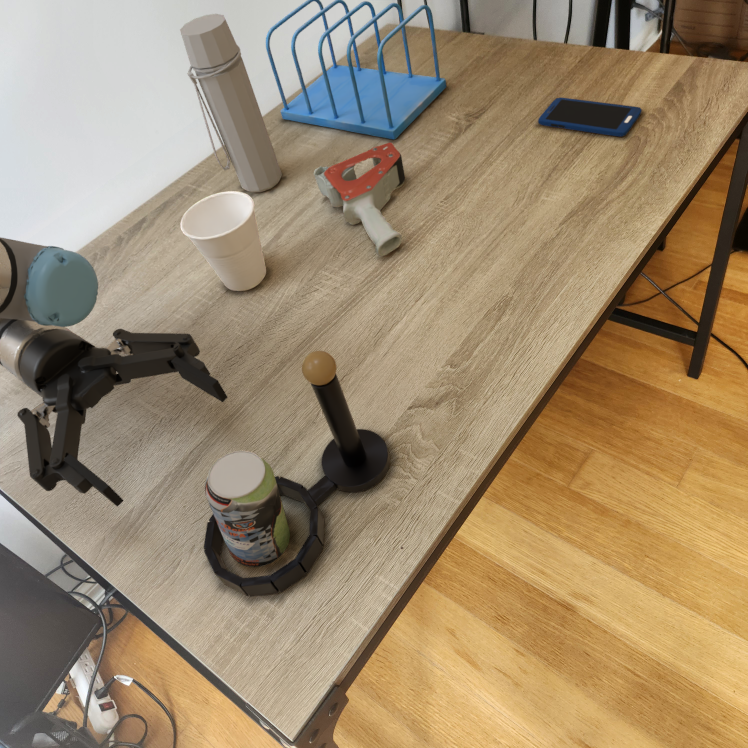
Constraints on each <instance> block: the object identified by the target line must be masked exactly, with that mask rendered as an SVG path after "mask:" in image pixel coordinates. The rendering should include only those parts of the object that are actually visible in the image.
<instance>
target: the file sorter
mask: <svg viewBox="0 0 748 748" xmlns="http://www.w3.org/2000/svg"><path fill="white" fill-rule="evenodd" d="M313 2H315V3H317V5H318V7H319V10H320V11H318V12H317V13H316V14H315V15H314V16H312V17H311V18H310V19H308V20H307V21H306V22H305V23H303V24H302V25H301V26H299V27H298V28H297V29H296V30H295V31H294V32H293V34H292V36H291V37H292V38H291V42H290V50H291V55H292V59H293V62H294V63H293V64H294V67H295V69H296V70H295V71H296V73H297V76H298V80H299V83H300V87H301V90H302V92H300V93H299V94H298V95H297V96H295V97H294V98H293V99H292V100H291V101H290V102H289V103H287V99H286V96H285V93H284V89H283V86H282V83H281V80H280V76H279V73H278V70H277V68H276V64H275V61H274V57H273V54H272V51H271V45H270V44H271V36H272V34H273V33H274V32H275V31H276V30H277V29H278V28H280V26H282V25H283V24H285V23H286V22H287V21H288V20H290V19H291V18H293V17H294V16H296V14H298V13H299V12H301V10H303V9H304V8H307V6H308V5H310V4H312V3H313ZM338 4H340V5H342V7H343V8H344V11H345V14H344V16H342V17H341V18H339V20H337V21H336V22H334V23H333V24H332V25H331V26H330V27H329V25H328V21H327V17H326V13H327V12H328V11H330V10H331V9H332V8H334V7H335V6H336V5H338ZM366 6H367V7H368V8H369V9H370V13H371V17H372V18H371V19H370V20H369V21H367V22H366V23H365V24H364V25H362V27H360V28H359V29H358V30H356V32H354V27H353V23H352V19H351V17H352V16H353V15H354V14H356V13H357V12H359V10H361V9H362V8H363V7H366ZM393 8H395V9H396V10H397V13H398V16H399V22H400V23H399V24H398V25H397V26H396V27H395V28H393V29H392V30H391V31H390V32H389V33H388V34H387V35H386V36H385V37H384V38H383V39H382V40H381V38H380V37H381V36H380V32H379V25H378V20H379V19H380V18H382V17H383V16H384V15H385V14H386V13H388V12H389V11H390V10H392V9H393ZM423 10H425V11H426V12H427V17H428V22H429V30H430V31H429V32H430V39H431V40H430V41H431V46H432V55H433V64H434V71H435V76H430V75H429V76H428V75H421V74H414V73H413V71H412V63H411V58H410V51H409V45H408V44H409V43H408V38H407V31H406V25H407V24H408V23H409V22H411V20H413V19H414V18H415V17H416V16H417V15H418V14H420V12H422V11H423ZM433 16H434V15H433V12H432V10H431V8H430V6H429V5H428V4H421V5H420V6H419V7H416V9H414V11H413V12H411V13H410V14H409V15H408V16H407V17H406V18H405V17H404V13H403V9H402V7H401V6H400V5H399V3H396V2H391V3H390V4H388V5H387V6H385V7H384V8H383V9H382V10H380V12H378V13H377V14H376V11H375V7H374V6H373V4H372V3H371V2H370V1H367V0H364V1H361V2H360V3H358V5H356V6H355V7H353V8H352V9H351V10H350V9H349V7H348V4H347V3H346V1H345V0H333V1H332V2H330V3H329V4H328V5H326V6H325V7H324V5H323V3H322V1H321V0H306V1H304V2H302V4H300V5H298V6H297V7H296V8H295V9H293V10H292V11H291V12H289V13H288V14H286V15H285V16H283V18H281V19H280V20H279V21H277V22H276V23H275V24H274V25H272V26H271V27H270V28H269V30H268V32H267V33H266V37H265V50H266V53H267V57H268V59H269V63H270V66H271V70H272V73H273V76H274V80H275V83H276V86H277V89H278V92H279V95H280V99H281V101H282V105H283V107H282V108H281V109H280V115H281V118H282V120H287V121H292V122H298V123H304V124H308V125H309V124H310V125H315V126H320V127H324V128H331V129H336V130H341V131H347V132H352V133H357V134H362V135H368V136H374V137H378V138H384V139H389V140H396V139H398V137H399V136H400V135H401V134H402V133H403V132H404V131H405V130H406V129H407V128H408V127H409V126H410V125H411V124H412V123H413V122H414V121H415V120H416V119H417V118H418V117H419V116H420V114H422V112H424V111H425V109H427V108H428V107H429V106H430V104H432V103H433V102H434V101H435V99H437V97H438V96H439V95H441V94H442V92H443V91H445V89H446V88H447V80H446V78H445V77H441V76H440V66H439V58H438V50H437V49H438V48H437V41H436V33H435V24H434V17H433ZM320 17H321V18H322V21H323V26H324V30H325V31H323V33H322V34H321V36H320V37H319V40H318V44H317V45H318V46H317V54H318V59H319V63H320V68H321V71H322V74H321V75H320V76H319V77H318V78H317V79H316V80H314V81H313V82H312V83H310V84H309V85H308V86H307V87H306V85H305V81H304V77H303V73H302V69H301V66H300V63H299V59H298V56H297V51H296V50H297V49H296V42H297V39H298V36H299V35H300V34H301V32H303V31H304V30H305V29H307V28H308V27H309V26H310V25H311V24H313V23H314V22H315V21H317V20H318V19H319V18H320ZM404 18H405V19H404ZM345 21H347V24H348V29H349V34H350V38H349V41H348V43H347V46H346V61H347V65H342V64H337V60H336V55H335V51H334V46H333V42H332V37H331V33H332V32H334V31H335V30H336V29H338V28H339V27H340V26H341V25H342V24H343V23H344V22H345ZM372 25H373V27H374V33H375V40H376V44H377V49H378V50H377V53H376V62H377V63H376V64H377V69H375V68H374V69H373V68H367V67H366V68H365V67H361V62H360V61H361V60H360V57H359V52H358V47H357V43H356V39H357V38H358V37H360V35H362V34H363V33H364V32H365V31H366V30H368V29H369V28H370V27H371V26H372ZM400 30H401V36H402V42H403V47H404V53H405V54H404V55H405V61H406V66H407V72H408V73H404V72H397V71H389V70H387V69H386V65H385V58H384V53H383V50H384V47H385V45H386V44H387V42H389V41H390V40H391V39H392V38H393V37H394V36H395V35H396V34H397V33H398V32H399V31H400ZM325 40H327V43H328V47H329V48H328V49H329V53H330V56H331V57H330V58H331V61H332V66H331V67H329V68H328V69H327V68H326V64H325V59H324V55H323V45H324V42H325ZM352 49H353V53H354V58H355V64H356V66H354V65H353V61H352Z"/></svg>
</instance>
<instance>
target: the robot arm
mask: <svg viewBox="0 0 748 748" xmlns="http://www.w3.org/2000/svg"><path fill="white" fill-rule="evenodd" d="M98 290H99V279H98V276H97V273H96V270H95V269H94V266H93V265H92V264H91V262H90V261H89V260H88V259H87V258H85V257H84V255H82V254H81V253H78V252H76V251H72V250H68V249H64V248H63V247H59V246H54V245H43V244H36V243H30V242H26V241H22V240H15V239H11V238H6V237H1V236H0V366H1V367H2V368H4V369H5V370H6V371H8V372H9V373H11V374H12V375H13V376H14V377H15V378H17V379H18V380H19V381H21V382H22V383H23V384H24V385H26V386H27V387H28V388H29V389H31V390H32V391H33V392H34V393H36V394H37V395H38V396H40V397H41V398H42V402H41V403H39V404H38V405H37V406H35V407H34V408H33V409H31V410H30V409H29V408H28V407H23V408H21V409H20V410H19V411H18V412H17V415H16V416H17V417H18V419H19V420H20V421H21V422H22V424H23V426H24V434H25V443H26V444H25V445H26V453H27V461H28V462H27V463H28V472H29V477H30V478H31V479H32V480H33V481H34V482H35V483H37V485H38V486H39V487H40V488H42V489H43V490H44V491H47V492H51V491H53V490H54V489H55V488H56V487H57V484H58V483H59V482H61V481H65V482H66V483H67V484H69V485H70V486H72V487H73V488H74V489H75V490H77V491H78V493H80V494H84V495H85V494H86V493H88V491H90V490H91V489H92V488H94V489H96V490H97V491H98V492H99V493H100V494H101V495H103V496H104V497H105V498H106V499H107V500H109V501H110V502H111V503H112V504H113V505H115V507H119V506H120V505H121V504H122V503H123V502H124V499H123V498H122V497H121V496H120V494H118V493H117V492H116V491H115V490H114V489H113V488H112V486H111V485H109V484H108V483H107V482H106V481H104V480H103V479H101V477H99V476H98V475H96V473H94V472H93V471H92V470H91V469H89V468H88V467H87V466H86V465H84V464H83V463H82V462H81V461H80V460H78V458H79V457H78V456H79V449H80V442H81V434H82V427H83V425H84V424H85V423H86V417H87V411H88V409H93V408H94V407H96V405H98V404H99V403H100V401H101V400H102V399H103V398H104V397H105V396H107V395H108V394H109V395H110V393H111V392H112V391H114V390H115V389H116V388H115V386H120V385H126V384H130V383H131V382H132V381H133V380H137V379H143V378H149V377H155V376H161V375H167V374H173V373H178V374H179V375H180V377H181V379H183V380H185V381H186V382H188V383H190V384H191V385H193V386H195V387H196V388H197V389H200V390H201V391H203V392H204V393H206V394H208V395H210V396H211V397H213V398H215V399H216V400H218V401H219V402H221V403H224V402H225V400H226V399H228V395H227V393H226V391H225V390H224V388H223V386H222V385H221V383H220V381H219V380H218V379H217V378H215V377H213V376H212V375H211V372H210V371H209V369H208V367H207V366H206V364H205V362H204V361H203V360H200V359H199V358H197V357H198V356H199V355H200V354H201V349H200V348H199V346H198V345H197V343H196V342H195V341H196V340H194V338H193V336H192V334H190V333H175V332H174V333H173V332H172V333H171V332H170V333H169V332H164V333H163V332H131V331H129V330H126V329H123V328H116V329H115V330H114V331H113V332H112V336H113V338H114V340H113V341H112V342H111V343H110V344H109V345H108V346H107V347H97V346H95V345H94V344H92V343H91V342H90V341H88V340H86V339H85V338H83V337H81V336H80V335H78V334H77V333H74V332H73V331H72V330H70V329H69V328H67V327H72V326H75V325H77V324H79V323H81V322H82V321H84V320H85V319H86V318H88V316H89V315H90V314H91V313H92V311H93V309H94V308H95V305H96V304H97V300H98V294H99V292H98ZM51 413H56V421H55V426H54V432H53V437H52V438H51V434H50V431H49V429H48V428H49V427H50V426H51V423H50V422H49V421H50V418H49V417H50V414H51Z"/></svg>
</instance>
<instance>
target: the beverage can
mask: <svg viewBox="0 0 748 748" xmlns="http://www.w3.org/2000/svg"><path fill="white" fill-rule="evenodd" d="M275 477H276V476H275V473H274V470H273V469H272V466H271V465H270V464H269V463H268V462H267V461H266V459H263V458H262V457H260V456H259V455H258V454H256V453H254V452H252V451H249V450H234V451H230V452H227V453H225V454H224V455H221V456H220V457H218V458H217V459H216V460H215V461H214V462H213V464H212V465H211V466H210V469H208V472H207V477H206V480H205V483H204V493H205V498H206V500H207V503H208V506H209V507H210V509H211V512H212V514H214V517H215V519H216V522H217V524H218V526H219V529H220V531H221V533H222V536H223V542H224V543H225V545H226V548H227V550H228V553H229V555H230V556H231V557H232V559H233V560H234V561H235V562H236V563H238V564H239V565H242V566H244V567H249V568H259V567H264V566H268V565H270V564H272V563H274V562H275V561H277V560H278V559H279V558H280V557H282V555H283V554H284V553H285V551H286V550H287V548H288V546H289V544H290V539H291V533H290V532H291V531H290V527H289V524H288V520H287V516H286V513H285V512H286V511H285V509H284V505H283V502H282V498H281V495H280V494H279V491H278V487H277V483H276V480H275Z"/></svg>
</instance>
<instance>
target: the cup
mask: <svg viewBox="0 0 748 748" xmlns="http://www.w3.org/2000/svg"><path fill="white" fill-rule="evenodd" d="M255 208H256V206H255V201H254V199H253V198H252V196H250V195H249V194H247V193H245V192H242V191H238V190H237V191H236V190H229V191H228V190H227V191H226V190H225V191H222V192H221V191H220V192H217V193H213V194H210V195H208V196H206V197H203V198H202V199H200V200H198V201H196V202H195V203H194V204H192V205H191V206H190V207H189V208H188V209H187V210H186V211H185V212H184V214H183V215H182V216H181V219H180V230H181V232H182V234H184V236H185V237H187V238H188V239H189V240H190V241H191V243H192V244H193V245H194V246H195V248H196V249H197V251H198V252H199V253H200V254H201V256H202V257H203V259H205V260H206V262H207V263H208V265H209V266H210V268H211V269H212V270H213V271H214V273H215V274H216V275H217V277H218V278H219V279H220V281H221V282H222V283H223V285H224V286H225V287H226V288H227V289H228V290H231V291H235V292H244V291H249V290H251V289H253V288H255V287H257V286H259V284H260V283H261V282H262V281H263V280H264V278H265V276H266V274H267V267H266V263H265V257H264V254H263V248H262V242H261V237H260V233H259V228H258V227H259V226H258V221H257V217H256V213H255Z"/></svg>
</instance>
